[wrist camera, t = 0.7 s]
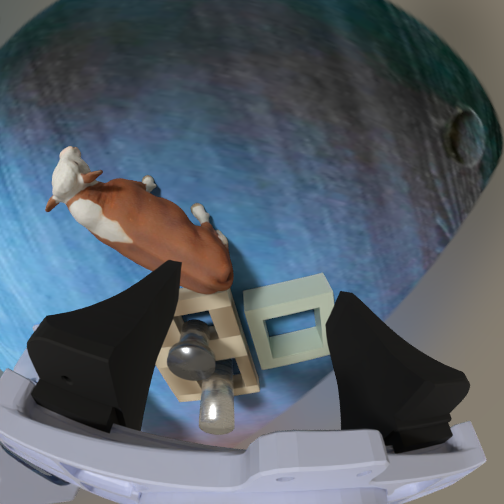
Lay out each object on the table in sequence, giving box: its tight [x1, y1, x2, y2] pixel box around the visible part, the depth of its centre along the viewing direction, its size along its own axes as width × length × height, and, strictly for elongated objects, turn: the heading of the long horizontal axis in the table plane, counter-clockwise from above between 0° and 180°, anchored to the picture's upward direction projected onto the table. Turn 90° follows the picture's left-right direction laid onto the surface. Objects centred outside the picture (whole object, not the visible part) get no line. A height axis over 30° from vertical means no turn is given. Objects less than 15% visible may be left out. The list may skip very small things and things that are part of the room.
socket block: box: [156, 288, 260, 402], centre depth 26 cm, size 9×13×2 cm
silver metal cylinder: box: [199, 358, 234, 435], centre depth 25 cm, size 3×3×8 cm
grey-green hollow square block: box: [243, 273, 334, 370], centre depth 25 cm, size 7×7×3 cm
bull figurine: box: [45, 146, 233, 295], centre depth 18 cm, size 4×13×8 cm, turn 50°
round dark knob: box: [167, 319, 216, 381], centre depth 22 cm, size 4×4×4 cm
